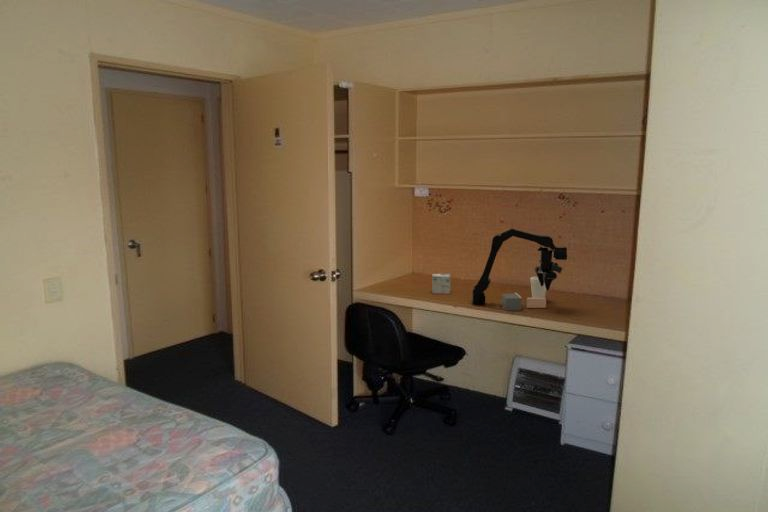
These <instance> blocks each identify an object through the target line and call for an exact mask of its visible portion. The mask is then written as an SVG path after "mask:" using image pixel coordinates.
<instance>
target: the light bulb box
mask: <svg viewBox="0 0 768 512" xmlns="http://www.w3.org/2000/svg"><path fill="white" fill-rule="evenodd" d="M431 279H432V281H431V283H432V285H431V286H432V287H431V288H432V289H431V290H432V294H440V295H441V294H447V295H448V294H451V274H450V273H432V278H431Z"/></svg>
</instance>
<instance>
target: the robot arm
mask: <svg viewBox="0 0 768 512" xmlns="http://www.w3.org/2000/svg"><path fill="white" fill-rule="evenodd" d="M512 237H515V238H518V239H521V240H522V239H523V240H527V241H531V242H533V243H536V244H537V245H540V246H539V247H538V248H536V249H537V251H538V252H540V260H539V261H538V262H539V264H540V265H538V266H535V268H534V272H535V274H536V277H538V279H539V282H540V284H541V286H543V285H544V283H545V287H546V291H549V290H550V288H551V284H552V283H553V281H554V280H556V279H558V278H557V277H558V274H562V271H563V267H562V266H560V265H559V264H558V263H557V262H553V259H554V260H555V261H556V260H557V261H558V260H559V261H566V260H567V259H568V252H567V251H568V250H567V249H568V248H567V246H557V245H556V244H554V240H553V238H552V236H551V235H549V234H537V233H536V234H535V233H531V232H528V231H525V230H520V229H517V228H515V227H510V228H509V229H508V230H505V231H503V232H501V233H497V234H495V235H493V237H492V240H491V247H490V252H489V255H488V258H487V261H486V263H485V267H484V269H483V272H482V274H481V275H480V278H479V279H478V280H477V284H476V285H474V286H473V289H472V292H471V304H472V305H473V306H484V305H485V306H486V304H485V303H486V295H485V291H486V290H487V289H489V287H490V283H491V281H492V279H491V278H490V274H491V272H492V269H493V266H494V263H495V259H496V258H497V254H498V252H499V251H500V249H501V247H502V246H503V244H504V242H505V241H507V240H509V239H510V238H512ZM557 273H558V274H557Z"/></svg>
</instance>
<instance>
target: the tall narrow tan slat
mask: <svg viewBox="0 0 768 512" xmlns="http://www.w3.org/2000/svg"><path fill="white" fill-rule="evenodd" d="M525 303H526V305H525V306H526V308H527V309H529V308H531V309H532V308H533V309H534V308H535V309H537V308H539V309H540V308H541V309H543V308H547V297H545V298H532V297H526V302H525Z"/></svg>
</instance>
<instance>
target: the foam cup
mask: <svg viewBox="0 0 768 512" xmlns="http://www.w3.org/2000/svg"><path fill="white" fill-rule="evenodd" d="M529 282H530V287H531V298H546V293H547V290H546V287H545V283H544V285H543V286H541V284H540V282H539V279H538V277H537V276H531V277H530V281H529Z"/></svg>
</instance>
